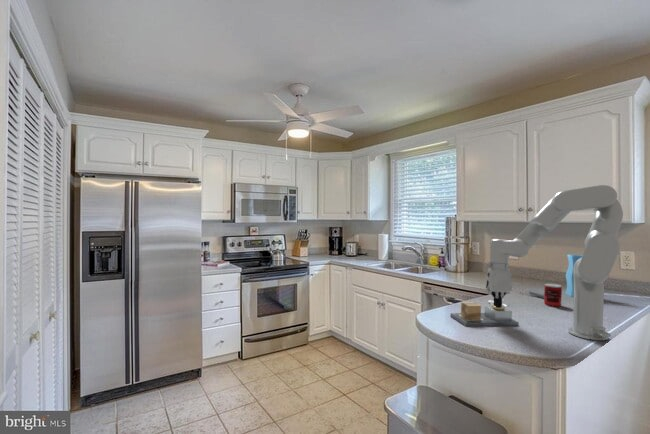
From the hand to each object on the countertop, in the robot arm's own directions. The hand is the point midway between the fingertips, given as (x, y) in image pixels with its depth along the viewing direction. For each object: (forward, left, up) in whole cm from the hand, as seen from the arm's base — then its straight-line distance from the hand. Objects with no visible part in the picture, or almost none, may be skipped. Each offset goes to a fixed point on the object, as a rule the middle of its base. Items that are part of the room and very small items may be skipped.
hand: (497, 306), depth 150 cm
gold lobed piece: (0, 0, -5) cm, 5 cm away
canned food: (+26, -48, -7) cm, 55 cm away
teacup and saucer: (+30, -19, -7) cm, 36 cm away
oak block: (0, +13, -5) cm, 14 cm away
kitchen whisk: (+49, -52, -7) cm, 72 cm away
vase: (+45, -80, -7) cm, 92 cm away
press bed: (0, +7, -7) cm, 9 cm away
